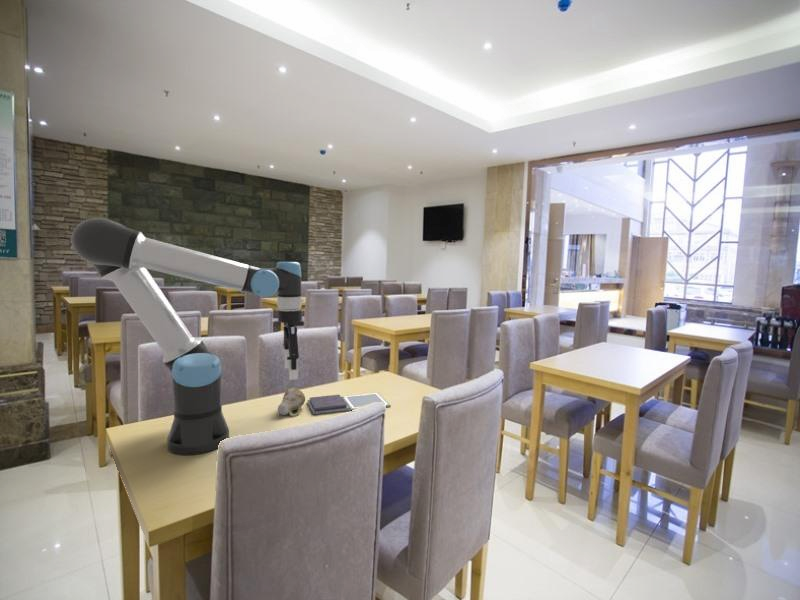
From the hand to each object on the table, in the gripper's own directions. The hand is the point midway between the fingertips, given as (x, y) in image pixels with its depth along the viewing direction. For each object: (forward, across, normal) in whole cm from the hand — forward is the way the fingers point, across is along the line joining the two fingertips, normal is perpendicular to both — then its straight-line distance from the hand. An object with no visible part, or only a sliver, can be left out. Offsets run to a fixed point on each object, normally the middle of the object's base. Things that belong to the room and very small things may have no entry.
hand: (291, 373), depth 135 cm
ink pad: (+13, 0, -12) cm, 18 cm away
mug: (+13, -1, 0) cm, 13 cm away
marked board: (+13, 0, -26) cm, 29 cm away
